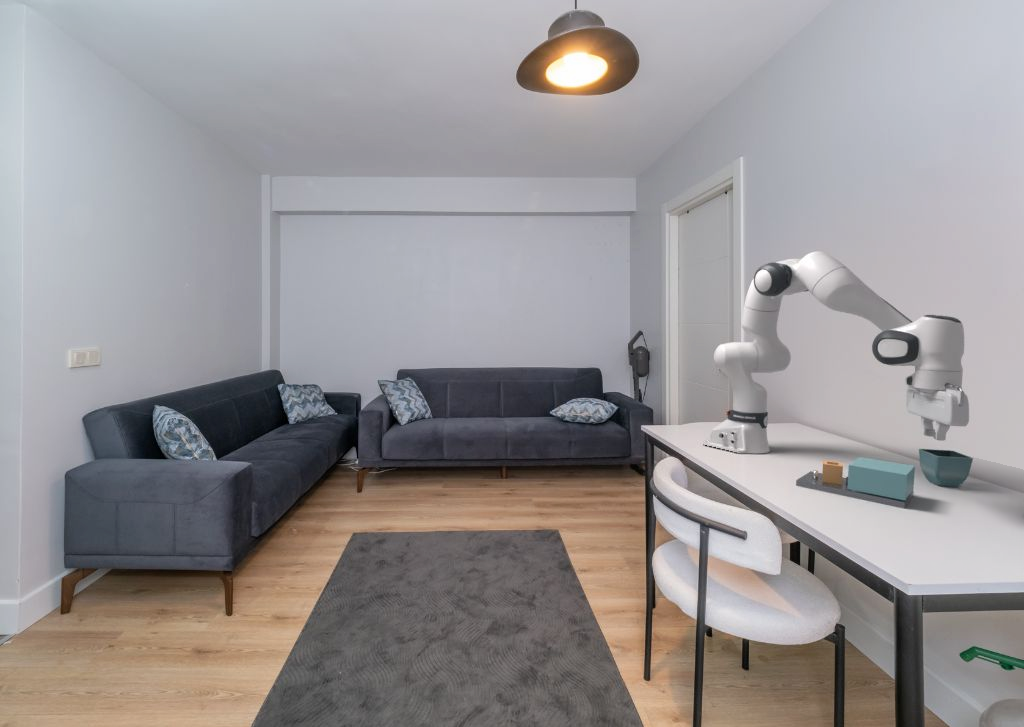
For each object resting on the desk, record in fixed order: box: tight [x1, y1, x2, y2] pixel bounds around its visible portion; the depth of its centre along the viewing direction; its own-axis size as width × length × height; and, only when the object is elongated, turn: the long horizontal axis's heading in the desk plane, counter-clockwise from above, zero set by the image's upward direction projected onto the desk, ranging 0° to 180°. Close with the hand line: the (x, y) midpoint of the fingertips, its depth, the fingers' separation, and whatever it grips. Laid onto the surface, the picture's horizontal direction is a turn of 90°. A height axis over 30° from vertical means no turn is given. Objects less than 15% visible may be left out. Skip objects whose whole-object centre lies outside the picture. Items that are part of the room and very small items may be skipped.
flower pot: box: [918, 448, 974, 488], centre depth 140 cm, size 9×9×9 cm
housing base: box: [795, 470, 915, 509], centre depth 134 cm, size 24×13×6 cm, turn 43°
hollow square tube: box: [821, 459, 844, 485], centre depth 137 cm, size 5×5×5 cm
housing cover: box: [847, 456, 916, 500], centre depth 129 cm, size 12×12×6 cm
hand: (933, 437), depth 121 cm, fingers open, 3 cm apart
